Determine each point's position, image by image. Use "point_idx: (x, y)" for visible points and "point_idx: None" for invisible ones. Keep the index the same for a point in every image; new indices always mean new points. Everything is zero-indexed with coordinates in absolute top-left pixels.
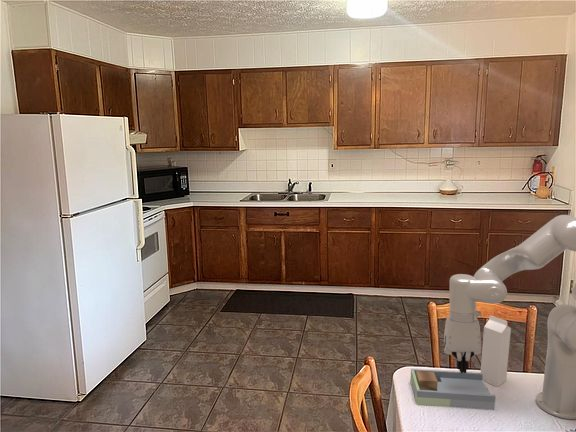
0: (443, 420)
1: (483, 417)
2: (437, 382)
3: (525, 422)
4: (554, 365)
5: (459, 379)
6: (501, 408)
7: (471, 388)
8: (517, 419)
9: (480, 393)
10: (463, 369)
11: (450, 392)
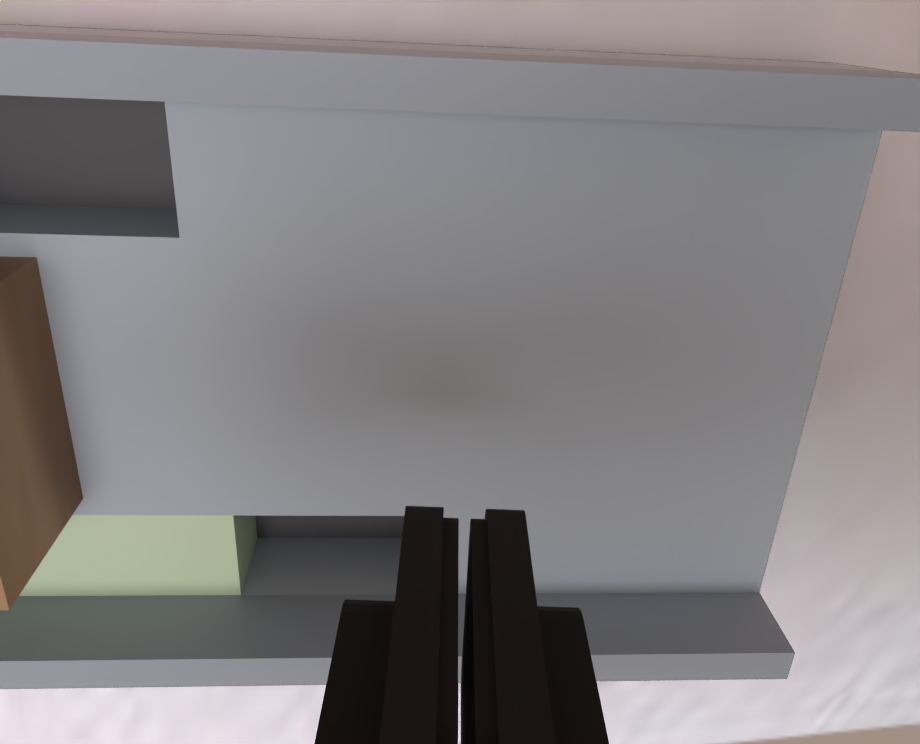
0: (165, 732)
1: None
2: (17, 595)
3: (899, 678)
4: None
5: (501, 129)
6: (807, 521)
7: (597, 373)
8: (856, 651)
9: (669, 474)
10: (463, 691)
11: (223, 672)
